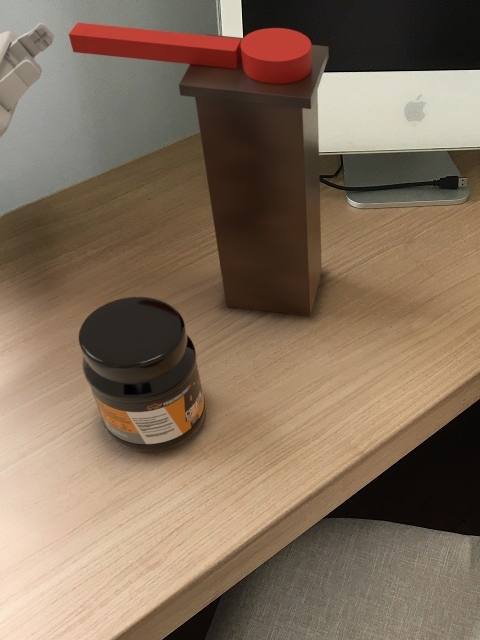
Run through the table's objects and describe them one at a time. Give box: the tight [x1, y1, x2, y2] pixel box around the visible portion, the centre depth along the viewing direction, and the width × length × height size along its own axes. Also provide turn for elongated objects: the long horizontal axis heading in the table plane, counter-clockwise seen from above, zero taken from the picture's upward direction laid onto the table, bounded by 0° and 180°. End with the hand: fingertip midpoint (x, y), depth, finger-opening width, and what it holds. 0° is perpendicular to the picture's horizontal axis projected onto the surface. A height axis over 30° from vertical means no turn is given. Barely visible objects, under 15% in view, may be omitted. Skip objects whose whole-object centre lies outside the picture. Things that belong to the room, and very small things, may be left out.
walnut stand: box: [178, 33, 330, 317], centre depth 83 cm, size 12×10×26 cm
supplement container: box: [78, 296, 207, 452], centre depth 77 cm, size 10×10×12 cm
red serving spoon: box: [68, 22, 312, 84], centre depth 72 cm, size 22×6×2 cm, turn 83°
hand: (42, 47), depth 78 cm, fingers open, 8 cm apart
